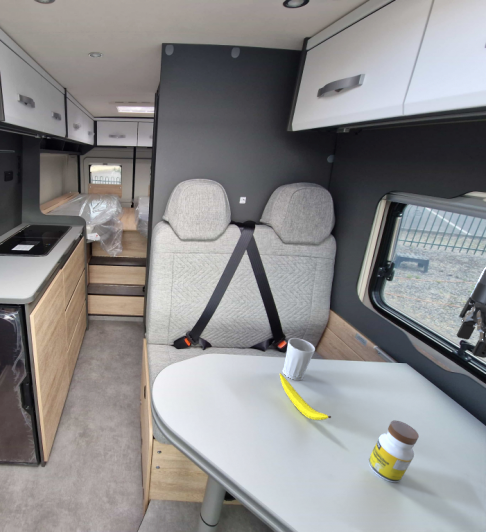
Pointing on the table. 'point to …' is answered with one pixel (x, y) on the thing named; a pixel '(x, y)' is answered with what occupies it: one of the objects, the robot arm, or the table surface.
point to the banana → (301, 402)
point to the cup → (297, 358)
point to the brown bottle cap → (403, 432)
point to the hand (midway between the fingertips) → (469, 346)
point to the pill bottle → (390, 458)
